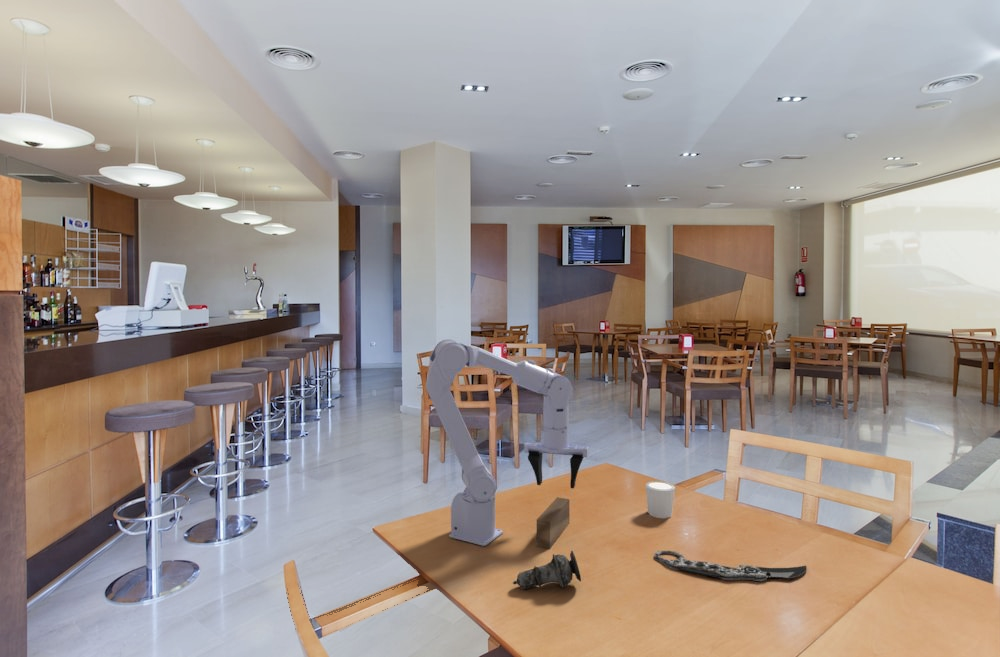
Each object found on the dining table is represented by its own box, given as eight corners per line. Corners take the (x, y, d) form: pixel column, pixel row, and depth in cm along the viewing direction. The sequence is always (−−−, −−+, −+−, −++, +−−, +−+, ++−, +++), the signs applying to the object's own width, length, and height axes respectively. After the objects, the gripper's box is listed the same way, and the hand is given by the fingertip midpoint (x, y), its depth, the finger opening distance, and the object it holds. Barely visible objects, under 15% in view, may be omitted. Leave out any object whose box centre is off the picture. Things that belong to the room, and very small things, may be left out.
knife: (806, 562, 104) (821, 585, 94) (806, 570, 104) (821, 594, 94) (654, 546, 112) (654, 565, 102) (654, 553, 112) (654, 573, 102)
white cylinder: (651, 506, 135) (651, 478, 135) (678, 512, 131) (678, 484, 130) (641, 515, 129) (641, 486, 129) (669, 521, 125) (669, 492, 125)
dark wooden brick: (536, 547, 113) (536, 519, 113) (557, 522, 126) (557, 497, 126) (550, 549, 112) (550, 521, 112) (569, 524, 125) (569, 499, 124)
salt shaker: (581, 587, 97) (517, 605, 96) (571, 555, 101) (510, 572, 100) (581, 576, 93) (515, 595, 92) (571, 543, 97) (507, 561, 96)
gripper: (520, 428, 119) (520, 488, 120) (585, 432, 115) (585, 494, 116) (528, 421, 126) (528, 478, 127) (589, 425, 122) (589, 483, 122)
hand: (556, 485), depth 122 cm, fingers open, 7 cm apart
